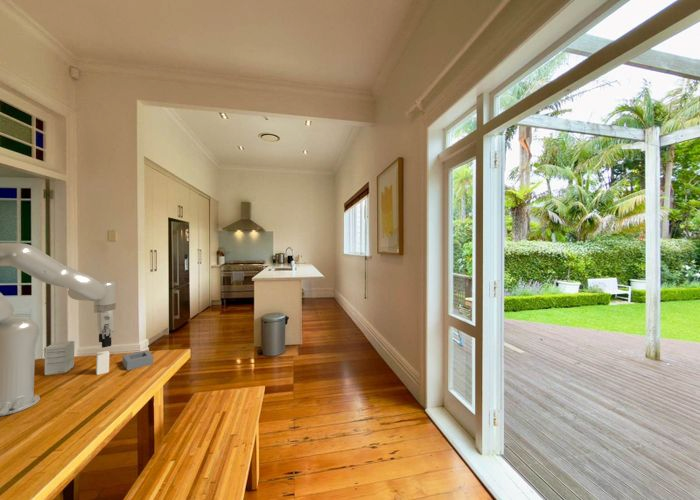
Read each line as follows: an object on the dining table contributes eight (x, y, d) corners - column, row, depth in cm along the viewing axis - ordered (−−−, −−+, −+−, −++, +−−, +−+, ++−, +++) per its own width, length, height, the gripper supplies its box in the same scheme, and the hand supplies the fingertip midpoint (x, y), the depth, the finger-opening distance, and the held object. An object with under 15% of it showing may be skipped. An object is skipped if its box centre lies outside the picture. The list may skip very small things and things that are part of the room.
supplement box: (53, 369, 124) (54, 342, 124) (74, 366, 127) (75, 340, 127) (43, 375, 117) (44, 347, 118) (65, 372, 121) (66, 345, 121)
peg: (108, 372, 122) (109, 352, 122) (97, 375, 119) (97, 355, 119) (107, 369, 125) (108, 350, 125) (95, 372, 122) (96, 352, 122)
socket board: (153, 364, 132) (153, 356, 132) (127, 370, 124) (127, 362, 124) (147, 357, 139) (147, 350, 139) (122, 363, 132) (122, 355, 132)
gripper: (118, 309, 120) (118, 346, 120) (112, 303, 131) (112, 337, 131) (96, 312, 114) (96, 351, 114) (91, 306, 125) (91, 341, 125)
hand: (105, 344), depth 123 cm, fingers open, 9 cm apart
